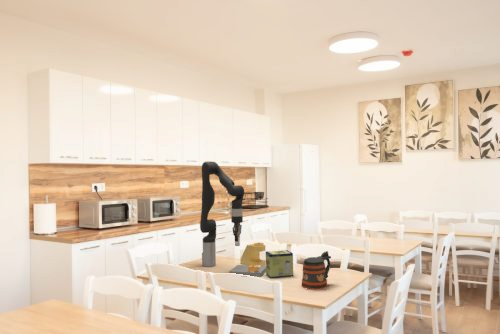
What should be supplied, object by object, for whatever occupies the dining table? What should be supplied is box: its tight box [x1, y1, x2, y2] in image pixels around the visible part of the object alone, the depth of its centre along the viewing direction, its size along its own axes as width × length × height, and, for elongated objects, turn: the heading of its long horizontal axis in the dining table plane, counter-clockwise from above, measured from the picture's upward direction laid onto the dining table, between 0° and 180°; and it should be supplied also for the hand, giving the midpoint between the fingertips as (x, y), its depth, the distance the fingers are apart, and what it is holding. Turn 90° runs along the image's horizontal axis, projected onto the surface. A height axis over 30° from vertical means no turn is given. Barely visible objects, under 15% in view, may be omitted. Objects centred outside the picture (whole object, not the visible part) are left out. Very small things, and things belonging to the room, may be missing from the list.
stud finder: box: [248, 265, 259, 272], centre depth 273 cm, size 6×4×3 cm, turn 75°
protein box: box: [265, 249, 294, 279], centre depth 271 cm, size 10×16×16 cm
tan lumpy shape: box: [240, 242, 266, 266], centre depth 305 cm, size 20×9×16 cm, turn 40°
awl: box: [234, 231, 241, 247], centre depth 284 cm, size 3×3×10 cm
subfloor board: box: [228, 264, 266, 278], centre depth 280 cm, size 21×19×3 cm
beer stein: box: [301, 251, 332, 290], centre depth 244 cm, size 19×15×20 cm
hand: (237, 240), depth 284 cm, fingers closed on awl, 3 cm apart
